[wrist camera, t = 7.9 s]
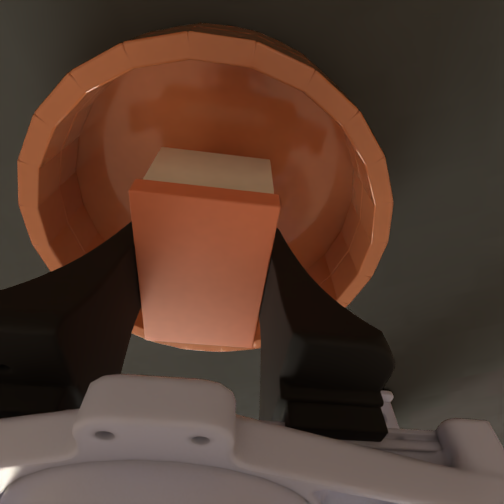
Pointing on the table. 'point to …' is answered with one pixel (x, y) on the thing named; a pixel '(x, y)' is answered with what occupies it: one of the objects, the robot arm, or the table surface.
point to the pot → (207, 148)
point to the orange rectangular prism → (203, 245)
